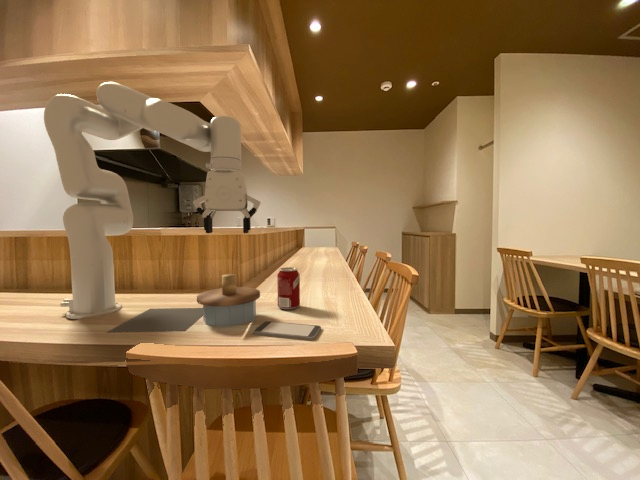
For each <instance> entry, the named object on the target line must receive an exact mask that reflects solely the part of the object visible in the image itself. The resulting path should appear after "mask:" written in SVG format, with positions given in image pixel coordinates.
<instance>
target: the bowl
mask: <svg viewBox="0 0 640 480" xmlns="http://www.w3.org/2000/svg"><path fill="white" fill-rule="evenodd" d="M202 308H203V316H202V318H203V323H205V325H207V326H211V327H215V328H217V327H218V328H220V327H223V328H224V327H226V328H227V327H234V326H235V327H236V326H240V325H244V324H246V323H247V324H248V323H249V324H251V323H253V322H255V320H256V318H257V300H255V301H252V302H249V303H245V304H240V305H234V306H205V305H202Z"/></svg>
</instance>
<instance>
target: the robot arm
mask: <svg viewBox="0 0 640 480" xmlns="http://www.w3.org/2000/svg"><path fill="white" fill-rule="evenodd" d="M95 95H96V99H97V102H98V103H99V105H100V106H99V105H97V104H95V103H93V102H91V101H88V100H86V99H83V98H82V97H81V98H80V97H78V96H76V95H71V94H67V93H66V94H65V93H64V94H62V93H60V94H59V93H58V94H55V95H53V96H52V97H50V99H49V100H48V101H47V102H46V104H45V107H44V112H43V122H44V123H43V124H44V127H45V130H46V133H47V135H48V137H49V140H50V142H51V145H52V146H53V150H54V153H55V159H56V163H57V166H58V171H59V175H60V178H61V179H60V180H61V184H62V186H63V191H64V192H65V193H66V194H67V195H68V196H69V197H71V198H74V199H79V200H80V199H81V200H89V201H90V200H91V201H99V202H100V203H96V202H95V203H92V202H80V203H74V204H72V205H70V206H69V207H67V208H66V209H65V211H64V212H63V215H62V222H63V227H64V229H65V233H66V237H67V241H68V245H69V246H68V247H69V258H70V271H71V272H70V274H71V276H70V277H71V291H72V292H71V293H72V298H64V299H63V301H61V303H60V307H63V308H67V307H68V311H66V313H65V318H67V319H71V320H80V319H85V318H93V317H99V316H104V315H107V314H111V313H114V312H117V311H119V310H121V309H122V308H123V304H122V303H120V302H116V291H115V290H116V289H115V286H116V285H115V267H114V251H113V248H112V245H111V243H110V241H109V240H108V238H107V236H108V237H109V236H121V235H122V236H123V235H125V234H128V233H129V232H130V231H131V230H132V229H133V227H134V226H133V225H134V213H133V210H132V209H133V208H132V205H131V201H130V195H129V190H128V187H127V184H126V182H125V180H124V179H123V178H122V177H121V176H120V175H119V174H118V173H115V172H113V171H110V170H106V169H102V168H100V167H99V166H98V162H97V159H96V153H95V151H94V149H93V147H92V145H91V144H90V142H89V141H88V140H87V138H86V137H85V136H84V135H83V133H84V134H85V133H86V134H88V135H91V136H94V137H97V138H100V139H103V140H107V141H117V140H120V139H122V138H125V137H127V136H129V135H131V134H133V133H136V132H138V131H140V130H142V129H144V130H146V131H149V132H157V133H160V134H162V135H164V136H166V137H169V138H171V139H173V140H174V141H177V142H178V143H179V142H180V143H182V144H185V145H186V146H189V147H191V148H192V149H195V150H197V151H200V152H204V153H206V152H207V153H208V152H210V160H209V161H208V162H205V165H204V166H205V168H206V169H209V171H207V174H206V180H205V185H204V186H205V188H204V195H202V196H200V197H198V198H196V199H194V200H193V201H192V204H193V206H194V207H195V210H196V211H197V213H198V214H199V215H201V218H203V228H204V231H205V233H206V234H211V233H213V217H211V216H213V214H214V212H241V213H242V215H243V216H244V217H243V218H242V223H243V224H242V227H243V228H242V232H243V233H244V234H248V233H249V232H250V231H251V218H252V217H253V216H254V215H255V214H257V212H258V209H259V207H260V205H262V204H261V201H259V200H258V199H256V198H255V197H253V196H250V195H249V194H248V191H247V182H246V177H245V173H244V172H243V171H242V128H241V123H240V121H239V120H238V119H236V118H234V117H231V116H226V115H218V116H214V117H212V119H211V120H210V122H208V121H206V120H204V119H203V118H200V117H199V116H198V115H197V114H194V113H193V112H191V111H189V110H187V109H185V108H183V107H180V106H179V105H176V104H173V103H170V102H169V101H167V100H163V99H161V98H156V97H153V96H150V95H149V94H145V93H143V92H140V91H138V90H136V89H134V88H132V87H129V86H126V85H124V84H120V83H118V82H114V81H108V82H107V81H106V82H103V83H101V84H99V86H98V87H97V88H96V91H95ZM248 202H249V203H252V204H253V205H252V208H251V209H250V210H248V206H249V205H248ZM202 203H204V207H205V209H204V208H203V207H202Z"/></svg>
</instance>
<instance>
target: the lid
mask: <svg viewBox="0 0 640 480" xmlns="http://www.w3.org/2000/svg"><path fill="white" fill-rule="evenodd" d="M260 297H261V291H260V290H259V289H257V288H253V287H247V286H237V274H233V273H228V274H222V275H221V287H220V288H214V289H209V290H205V291H202V292H200V293H199V294H197V295H196V302H197V304H199V305H201V306H203V305H205V306H234V305H240V304H245V303H249V302H252V301H255V300H256V301H257V300H258V299H259V298H260Z"/></svg>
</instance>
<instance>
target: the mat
mask: <svg viewBox="0 0 640 480" xmlns="http://www.w3.org/2000/svg"><path fill="white" fill-rule="evenodd" d="M201 318H203V307H173V308H171V307H170V308H164V307H163V308H162V307H161V308H160V307H158V308H149V309H147V310H145V311H143V312H141V313H139V314H137V315H135V316H134V317H132V318H130V319H128V320H126V321H125V322H123V323H120V324H119V325H117V326H115V327H113V328H111V329H110V330H108V331H106V332H105V333H107V334H108V333H109V334H110V333H152V332H154V333H157V332H160V333H161V332H187V330H188V329H190V328H191V327H192V326H193V325H194V324H195V323H196V322H198V321H199V320H200V319H201Z"/></svg>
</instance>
